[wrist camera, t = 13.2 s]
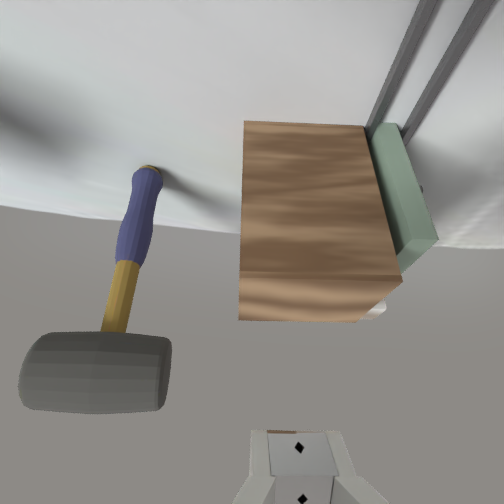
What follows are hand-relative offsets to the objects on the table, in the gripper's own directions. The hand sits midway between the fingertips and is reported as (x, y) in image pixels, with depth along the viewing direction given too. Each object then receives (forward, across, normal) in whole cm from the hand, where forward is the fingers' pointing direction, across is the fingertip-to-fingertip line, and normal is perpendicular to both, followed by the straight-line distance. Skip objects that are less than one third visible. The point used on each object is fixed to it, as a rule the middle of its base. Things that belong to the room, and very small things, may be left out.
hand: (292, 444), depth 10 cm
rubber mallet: (+37, -15, +8) cm, 40 cm away
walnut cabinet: (+36, +7, +9) cm, 38 cm away
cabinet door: (+35, +14, +10) cm, 39 cm away
